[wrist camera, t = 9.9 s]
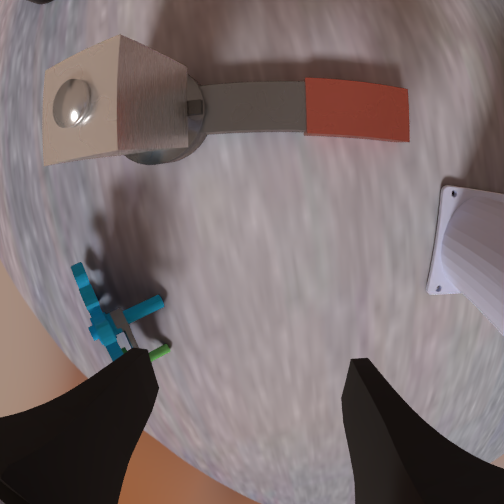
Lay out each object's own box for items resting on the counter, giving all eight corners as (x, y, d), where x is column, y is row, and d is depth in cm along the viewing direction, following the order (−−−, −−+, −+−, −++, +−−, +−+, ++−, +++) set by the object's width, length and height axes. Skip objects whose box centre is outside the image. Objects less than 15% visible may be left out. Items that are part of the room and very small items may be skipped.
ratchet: (393, 74, 14) (429, 53, 9) (396, 163, 16) (435, 170, 11) (126, 83, 16) (82, 68, 11) (128, 166, 18) (82, 175, 13)
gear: (58, 249, 19) (73, 311, 12) (123, 223, 22) (175, 264, 15) (105, 353, 24) (146, 429, 17) (156, 328, 27) (212, 391, 20)
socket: (187, 67, 13) (113, 31, 7) (188, 147, 14) (110, 150, 8) (119, 83, 14) (39, 70, 8) (120, 155, 15) (37, 167, 9)
